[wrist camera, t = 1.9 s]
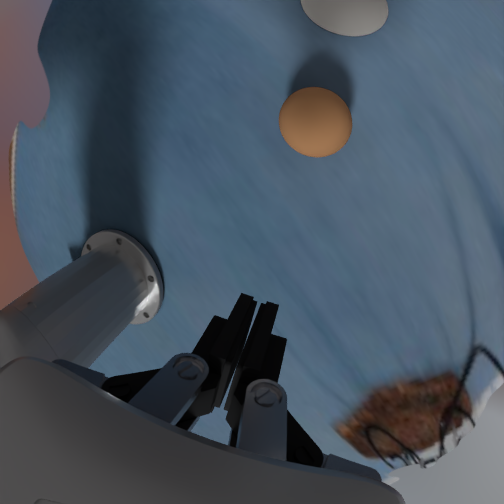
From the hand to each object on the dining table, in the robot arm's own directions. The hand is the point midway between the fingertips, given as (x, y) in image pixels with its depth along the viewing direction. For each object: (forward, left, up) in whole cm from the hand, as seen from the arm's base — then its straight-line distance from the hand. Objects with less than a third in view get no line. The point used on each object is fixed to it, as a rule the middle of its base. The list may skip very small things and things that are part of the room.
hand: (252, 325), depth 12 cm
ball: (+4, +9, -12) cm, 15 cm away
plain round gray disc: (+9, +20, -15) cm, 27 cm away
